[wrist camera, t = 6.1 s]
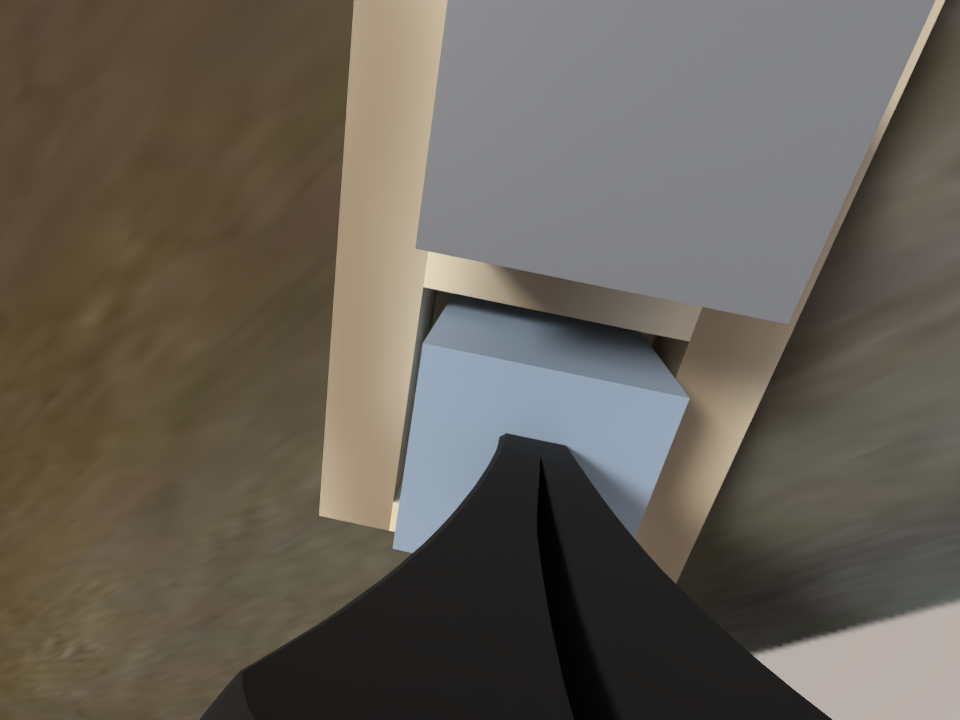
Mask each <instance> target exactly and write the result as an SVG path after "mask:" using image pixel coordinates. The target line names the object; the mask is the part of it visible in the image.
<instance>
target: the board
mask: <svg viewBox="0 0 960 720" xmlns="http://www.w3.org/2000/svg"><path fill="white" fill-rule="evenodd" d="M447 1H448V0H354V9H353V23H352V38H351V53H350V68H349V82H348V97H347V112H346V127H345V141H344V156H343V171H342V185H341V200H340V215H339V230H338V244H337V259H336V274H335V288H334V303H333V318H332V333H331V347H330V362H329V377H328V392H327V406H326V421H325V436H324V450H323V465H322V480H321V495H320V509H319V516H323V517H328V518H332V519H337V520H342V521H346V522H351V523H356V524H360V525H365V526H370V527H374V528H379V529H384V530H388V531H393V532H395V529H396V522H397V515H398V509H399V502H400V495H401V488H402V481H403V475H404V468H405V461H406V454H407V448H408V441H409V434H410V427H411V420H412V414H413V407H414V400H415V393H416V386H417V380H418V373H419V366H420V359H421V352H422V346H423V342H424V340H425V339H426V337H427V336H428V334H429V333H430V331H431V329H432V328H433V326H434V325H435V323H436V321H437V320H438V318H439V317H440V315H441V313H442V312H443V310H444V309H445V307H446V305H447V304H448V302H449V301H450V299H451V298H452V296H453V294H458V295H463V296H468V297H473V298H478V299H483V300H488V301H493V302H497V303H502V304H507V305H512V306H517V307H522V308H527V309H532V310H537V311H541V312H546V313H551V314H556V315H561V316H566V317H571V318H576V319H581V320H585V321H590V322H595V323H600V324H605V325H610V326H615V327H620V328H625V329H629V330H634V331H639V332H641V333H642V335H643V336H644V337H645V339H646V340H647V341H648V343H649V344H650V345H651V347H652V348H653V350H654V351H655V352H656V354H657V355H658V356H659V358H660V359H661V360H662V362H663V363H664V364H665V366H666V367H667V368H668V370H669V371H670V372H671V374H672V375H673V376H674V378H675V379H676V380H677V382H678V383H679V384H680V386H681V387H682V388H683V390H684V391H685V392H686V394H687V395H688V396H689V398H690V399H689V402H688V404H687V407H686V409H685V412H684V414H683V417H682V419H681V422H680V424H679V427H678V429H677V432H676V434H675V437H674V439H673V442H672V444H671V447H670V449H669V452H668V455H667V457H666V460H665V462H664V465H663V467H662V470H661V472H660V475H659V477H658V480H657V482H656V485H655V487H654V490H653V492H652V495H651V497H650V500H649V502H648V505H647V508H646V510H645V513H644V515H643V518H642V520H641V523H640V525H639V528H638V530H637V533H636V535H635V540H636V541H637V542H638V543H639V544H640V546H641V547H642V548H643V549H644V550H645V551H646V553H647V554H648V555H649V556H650V557H651V558H652V559H653V560H654V562H655V563H656V564H657V565H658V566H659V567H660V568H661V569H662V570H663V571H664V572H665V573H666V574H667V575H668V576H669V577H670V578H671V579H672V580H673V581H674V582H675V584H676V583H677V581H678V578H679V576H680V574H681V572H682V570H683V568H684V565H685V563H686V561H687V559H688V557H689V555H690V552H691V550H692V548H693V546H694V544H695V542H696V539H697V537H698V535H699V533H700V531H701V529H702V526H703V524H704V522H705V520H706V518H707V516H708V513H709V511H710V509H711V507H712V505H713V503H714V500H715V498H716V496H717V494H718V492H719V490H720V487H721V485H722V483H723V481H724V479H725V477H726V474H727V472H728V470H729V468H730V466H731V464H732V461H733V459H734V457H735V455H736V453H737V451H738V448H739V446H740V444H741V442H742V440H743V438H744V435H745V433H746V431H747V429H748V427H749V425H750V422H751V420H752V418H753V416H754V414H755V412H756V409H757V407H758V405H759V403H760V401H761V399H762V396H763V394H764V392H765V390H766V388H767V386H768V383H769V381H770V379H771V377H772V375H773V373H774V370H775V368H776V366H777V364H778V362H779V360H780V357H781V355H782V353H783V351H784V349H785V347H786V344H787V342H788V340H789V338H790V336H791V334H792V331H793V329H794V327H795V325H796V323H797V321H798V318H799V316H800V314H801V312H802V310H803V307H804V305H805V303H806V301H807V299H808V297H809V294H810V292H811V290H812V288H813V286H814V284H815V281H816V279H817V277H818V275H819V273H820V271H821V268H822V266H823V264H824V262H825V260H826V258H827V255H828V253H829V251H830V249H831V247H832V245H833V242H834V240H835V238H836V236H837V234H838V232H839V229H840V227H841V225H842V223H843V221H844V219H845V216H846V214H847V212H848V210H849V208H850V206H851V203H852V201H853V199H854V197H855V195H856V193H857V190H858V188H859V186H860V184H861V182H862V180H863V177H864V175H865V173H866V171H867V169H868V167H869V164H870V162H871V160H872V158H873V156H874V154H875V151H876V149H877V147H878V145H879V143H880V141H881V138H882V136H883V134H884V132H885V130H886V128H887V125H888V123H889V121H890V119H891V117H892V115H893V112H894V110H895V108H896V106H897V104H898V102H899V99H900V97H901V95H902V93H903V91H904V89H905V86H906V84H907V82H908V80H909V78H910V76H911V73H912V71H913V69H914V67H915V65H916V63H917V60H918V58H919V56H920V54H921V52H922V50H923V47H924V45H925V43H926V41H927V39H928V37H929V34H930V32H931V30H932V28H933V26H934V24H935V21H936V19H937V17H938V15H939V13H940V11H941V8H942V6H943V4H944V2H945V0H936V1H935V3H934V5H933V7H932V9H931V12H930V14H929V16H928V18H927V20H926V23H925V25H924V27H923V29H922V31H921V34H920V36H919V38H918V40H917V42H916V45H915V47H914V49H913V51H912V53H911V55H910V58H909V60H908V62H907V64H906V66H905V69H904V71H903V73H902V75H901V77H900V80H899V82H898V84H897V86H896V88H895V91H894V93H893V95H892V97H891V99H890V102H889V104H888V106H887V108H886V110H885V113H884V115H883V117H882V119H881V121H880V124H879V126H878V128H877V130H876V132H875V135H874V137H873V139H872V141H871V143H870V146H869V148H868V150H867V152H866V154H865V157H864V159H863V161H862V163H861V165H860V168H859V170H858V172H857V174H856V176H855V179H854V181H853V183H852V185H851V187H850V190H849V192H848V194H847V196H846V198H845V201H844V203H843V205H842V207H841V209H840V212H839V214H838V216H837V218H836V220H835V223H834V225H833V227H832V229H831V231H830V234H829V236H828V238H827V240H826V242H825V245H824V247H823V249H822V251H821V253H820V256H819V258H818V260H817V262H816V264H815V267H814V269H813V271H812V273H811V275H810V278H809V280H808V282H807V284H806V286H805V288H804V291H803V293H802V295H801V297H800V299H799V302H798V304H797V306H796V308H795V310H794V313H793V315H792V317H791V319H790V321H789V324H784V323H779V322H774V321H769V320H764V319H759V318H754V317H749V316H744V315H739V314H735V313H730V312H725V311H720V310H715V309H710V308H705V307H700V306H695V305H690V304H685V303H680V302H676V301H671V300H666V299H661V298H656V297H651V296H646V295H641V294H636V293H631V292H626V291H621V290H616V289H612V288H607V287H602V286H597V285H592V284H587V283H582V282H577V281H572V280H567V279H562V278H557V277H552V276H548V275H543V274H538V273H533V272H528V271H523V270H518V269H513V268H508V267H503V266H498V265H493V264H488V263H484V262H479V261H474V260H469V259H464V258H459V257H454V256H449V255H444V254H439V253H434V252H429V251H424V250H420V249H415V247H416V239H417V232H418V224H419V216H420V209H421V201H422V193H423V186H424V178H425V170H426V163H427V155H428V147H429V140H430V132H431V124H432V117H433V109H434V101H435V93H436V86H437V78H438V70H439V63H440V55H441V47H442V40H443V32H444V24H445V17H446V9H447Z"/></svg>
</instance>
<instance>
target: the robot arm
mask: <svg viewBox="0 0 960 720" xmlns="http://www.w3.org/2000/svg"><path fill="white" fill-rule="evenodd" d="M200 720H832V719H831V718H829V717H828V716H827V715H826V714H824V713H823V712H822V711H820V710H819V709H818V708H817V707H815V706H814V705H813V704H811V703H810V702H809V701H808V700H806V699H805V698H804V697H802V696H801V695H800V694H799V693H797V692H796V691H795V690H793V689H792V688H791V687H790V686H788V685H787V684H786V683H785V682H784V681H783V680H781V679H780V678H779V677H778V676H776V675H775V674H774V673H773V672H771V671H770V670H769V669H768V668H767V667H766V666H764V665H763V664H762V663H761V662H760V661H758V660H757V659H756V658H755V657H754V656H753V655H752V654H750V653H749V652H748V651H747V650H746V649H745V648H744V647H742V646H741V645H740V644H739V643H738V642H737V641H736V640H735V639H733V638H732V637H731V636H730V635H729V634H728V633H727V632H726V631H724V630H723V629H722V628H721V627H720V626H719V625H718V624H716V623H715V622H714V621H713V620H712V619H711V618H710V617H709V616H708V615H707V614H706V613H705V612H704V611H703V610H702V609H700V608H699V607H698V606H697V605H696V604H695V603H694V602H693V601H692V600H691V599H690V598H689V597H688V596H687V595H686V594H685V593H684V592H683V591H682V590H681V589H680V588H679V587H678V586H677V585H676V584H675V582H674V581H673V580H672V579H671V578H670V577H669V576H668V575H667V574H666V573H665V572H664V571H663V570H662V569H661V568H660V567H659V566H658V565H657V564H656V563H655V562H654V560H653V559H652V558H651V557H650V556H649V555H648V554H647V553H646V551H645V550H644V549H643V548H642V547H641V546H640V544H639V543H638V542H637V541H636V540H635V538H634V537H633V536H632V535H631V534H630V533H629V531H628V530H627V529H626V528H625V527H624V525H623V524H622V523H621V521H620V520H619V519H618V518H617V516H616V515H615V514H614V513H613V511H612V510H611V509H610V507H609V506H608V505H607V503H606V502H605V501H604V499H603V498H602V497H601V495H600V494H599V493H598V491H597V490H596V488H595V487H594V486H593V484H592V483H591V481H590V480H589V478H588V477H587V476H586V474H585V473H584V471H583V470H582V468H581V467H580V465H579V464H578V462H577V461H576V459H575V458H574V456H573V455H572V454H571V452H570V451H569V449H568V448H567V447H566V445H561V444H557V443H552V442H547V441H542V440H537V439H532V438H528V437H523V436H518V435H513V434H508V433H505V434H504V435H502V436H500V437H499V441H498V446H497V449H496V452H495V454H494V456H493V458H492V459H491V461H490V463H489V465H488V467H487V468H486V470H485V471H484V473H483V474H482V476H481V477H480V479H479V480H478V482H477V483H476V485H475V486H474V487H473V489H472V490H471V491H470V493H469V494H468V495H467V496H466V498H465V499H464V500H463V501H462V503H461V504H460V505H459V506H458V508H457V509H456V510H455V511H454V512H453V513H452V515H451V516H450V517H449V518H448V519H447V520H446V521H445V522H444V523H443V524H442V525H441V527H440V528H439V529H438V530H437V531H436V532H435V533H434V534H433V535H432V536H431V537H430V538H429V539H428V540H427V541H426V542H425V543H423V544H422V545H421V546H420V547H419V548H418V549H417V550H416V551H415V552H413V553H412V554H411V555H410V556H409V557H408V558H407V559H405V560H404V561H403V562H402V563H401V564H400V565H399V566H398V567H396V568H395V569H394V570H393V571H391V572H390V573H389V574H388V575H387V576H385V577H384V578H383V579H381V580H380V581H379V582H378V583H376V584H375V585H373V586H372V587H371V588H369V589H368V590H366V591H365V592H364V593H362V594H361V595H359V596H358V597H357V598H355V599H354V600H353V601H351V602H350V603H348V604H347V605H346V606H344V607H343V608H341V609H340V610H339V611H337V612H336V613H334V614H333V615H332V616H330V617H329V618H327V619H326V620H324V621H322V622H321V623H319V624H318V625H316V626H315V627H313V628H311V629H310V630H308V631H306V632H305V633H303V634H301V635H300V636H298V637H296V638H295V639H293V640H291V641H290V642H288V643H286V644H285V645H283V646H282V647H280V648H278V649H277V650H275V651H273V652H272V653H270V654H268V655H267V656H265V657H263V658H262V659H260V660H258V661H257V662H255V663H253V664H251V665H250V666H248V667H246V668H245V669H243V670H241V671H240V672H239V673H238V674H237V675H236V676H235V677H234V678H233V679H232V681H231V682H230V683H229V684H228V685H227V686H226V688H225V689H224V690H223V691H222V693H221V694H220V695H219V696H218V697H217V699H216V700H215V701H214V702H213V703H212V705H211V706H210V707H209V708H208V710H207V711H206V712H205V713H204V715H203V716H202V717H201V718H200Z"/></svg>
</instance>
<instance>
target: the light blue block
mask: <svg viewBox="0 0 960 720" xmlns="http://www.w3.org/2000/svg"><path fill="white" fill-rule="evenodd" d="M689 399H690V398H689V396H688V395H687V394H686V392H685V391H684V390H683V388H682V387H681V386H680V384H679V383H678V382H677V380H676V379H675V378H674V376H673V375H672V374H671V372H670V371H669V370H668V368H667V367H666V366H665V364H664V363H663V362H662V360H661V359H660V358H659V356H658V355H657V354H656V352H655V351H654V350H653V348H652V347H651V345H650V344H649V343H648V341H647V340H646V339H645V337H644V336H643V335H642V333H641V332H639V331H634V330H629V329H625V328H620V327H615V326H610V325H605V324H600V323H595V322H590V321H585V320H581V319H576V318H571V317H566V316H561V315H556V314H551V313H546V312H541V311H537V310H532V309H527V308H522V307H517V306H512V305H507V304H502V303H497V302H493V301H488V300H483V299H478V298H473V297H468V296H463V295H458V294H453V296H452V298H451V299H450V301H449V302H448V304H447V305H446V307H445V309H444V310H443V312H442V313H441V315H440V317H439V318H438V320H437V321H436V323H435V325H434V326H433V328H432V329H431V331H430V333H429V334H428V336H427V337H426V339H425V340H424V342H423V346H422V352H421V359H420V366H419V373H418V380H417V386H416V393H415V400H414V407H413V414H412V420H411V427H410V434H409V441H408V448H407V454H406V461H405V468H404V475H403V481H402V488H401V495H400V502H399V509H398V515H397V522H396V529H395V536H394V543H393V549H397V550H402V551H406V552H411V553H413V552H415V551H416V550H417V549H418V548H419V547H420V546H421V545H422V544H423V543H425V542H426V541H427V540H428V539H429V538H430V537H431V536H432V535H433V534H434V533H435V532H436V531H437V530H438V529H439V528H440V527H441V525H442V524H443V523H444V522H445V521H446V520H447V519H448V518H449V517H450V516H451V515H452V513H453V512H454V511H455V510H456V509H457V508H458V506H459V505H460V504H461V503H462V501H463V500H464V499H465V498H466V496H467V495H468V494H469V493H470V491H471V490H472V489H473V487H474V486H475V485H476V483H477V482H478V480H479V479H480V477H481V476H482V474H483V473H484V471H485V470H486V468H487V467H488V465H489V463H490V461H491V459H492V458H493V456H494V454H495V452H496V449H497V446H498V441H499V437H500V436H502V435H504V434H505V433H508V434H513V435H518V436H523V437H528V438H532V439H537V440H542V441H547V442H552V443H557V444H561V445H566V447H567V448H568V449H569V451H570V452H571V454H572V455H573V456H574V458H575V459H576V461H577V462H578V464H579V465H580V467H581V468H582V470H583V471H584V473H585V474H586V476H587V477H588V478H589V480H590V481H591V483H592V484H593V486H594V487H595V488H596V490H597V491H598V493H599V494H600V495H601V497H602V498H603V499H604V501H605V502H606V503H607V505H608V506H609V507H610V509H611V510H612V511H613V513H614V514H615V515H616V516H617V518H618V519H619V520H620V521H621V523H622V524H623V525H624V527H625V528H626V529H627V530H628V531H629V533H630V534H631V535H632V536H633V537H634V538H635V535H636V533H637V530H638V528H639V525H640V523H641V520H642V518H643V515H644V513H645V510H646V508H647V505H648V502H649V500H650V497H651V495H652V492H653V490H654V487H655V485H656V482H657V480H658V477H659V475H660V472H661V470H662V467H663V465H664V462H665V460H666V457H667V455H668V452H669V449H670V447H671V444H672V442H673V439H674V437H675V434H676V432H677V429H678V427H679V424H680V422H681V419H682V417H683V414H684V412H685V409H686V407H687V404H688V402H689Z"/></svg>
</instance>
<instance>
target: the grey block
mask: <svg viewBox="0 0 960 720" xmlns="http://www.w3.org/2000/svg"><path fill="white" fill-rule="evenodd" d="M935 1H936V0H448V1H447V9H446V17H445V24H444V32H443V40H442V47H441V55H440V63H439V70H438V78H437V86H436V93H435V101H434V109H433V117H432V124H431V132H430V140H429V147H428V155H427V163H426V170H425V178H424V186H423V193H422V201H421V209H420V216H419V224H418V232H417V239H416V247H415V249H420V250H424V251H429V252H434V253H439V254H444V255H449V256H454V257H459V258H464V259H469V260H474V261H479V262H484V263H488V264H493V265H498V266H503V267H508V268H513V269H518V270H523V271H528V272H533V273H538V274H543V275H548V276H552V277H557V278H562V279H567V280H572V281H577V282H582V283H587V284H592V285H597V286H602V287H607V288H612V289H616V290H621V291H626V292H631V293H636V294H641V295H646V296H651V297H656V298H661V299H666V300H671V301H676V302H680V303H685V304H690V305H695V306H700V307H705V308H710V309H715V310H720V311H725V312H730V313H735V314H739V315H744V316H749V317H754V318H759V319H764V320H769V321H774V322H779V323H784V324H789V321H790V319H791V317H792V315H793V313H794V310H795V308H796V306H797V304H798V302H799V299H800V297H801V295H802V293H803V291H804V288H805V286H806V284H807V282H808V280H809V278H810V275H811V273H812V271H813V269H814V267H815V264H816V262H817V260H818V258H819V256H820V253H821V251H822V249H823V247H824V245H825V242H826V240H827V238H828V236H829V234H830V231H831V229H832V227H833V225H834V223H835V220H836V218H837V216H838V214H839V212H840V209H841V207H842V205H843V203H844V201H845V198H846V196H847V194H848V192H849V190H850V187H851V185H852V183H853V181H854V179H855V176H856V174H857V172H858V170H859V168H860V165H861V163H862V161H863V159H864V157H865V154H866V152H867V150H868V148H869V146H870V143H871V141H872V139H873V137H874V135H875V132H876V130H877V128H878V126H879V124H880V121H881V119H882V117H883V115H884V113H885V110H886V108H887V106H888V104H889V102H890V99H891V97H892V95H893V93H894V91H895V88H896V86H897V84H898V82H899V80H900V77H901V75H902V73H903V71H904V69H905V66H906V64H907V62H908V60H909V58H910V55H911V53H912V51H913V49H914V47H915V45H916V42H917V40H918V38H919V36H920V34H921V31H922V29H923V27H924V25H925V23H926V20H927V18H928V16H929V14H930V12H931V9H932V7H933V5H934V3H935Z"/></svg>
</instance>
